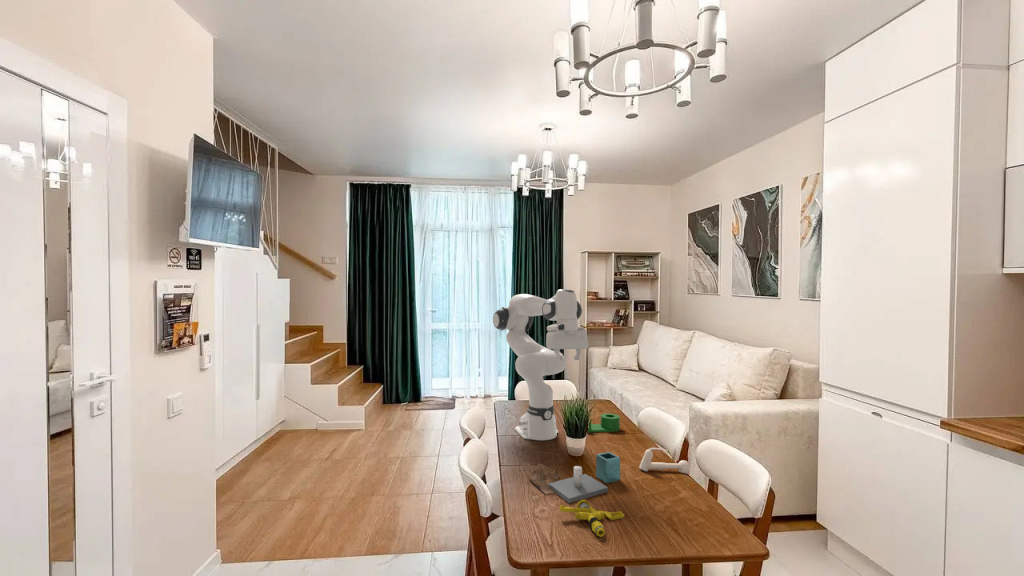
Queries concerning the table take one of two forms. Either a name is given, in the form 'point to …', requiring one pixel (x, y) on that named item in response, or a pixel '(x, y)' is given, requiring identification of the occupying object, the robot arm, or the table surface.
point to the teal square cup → (608, 467)
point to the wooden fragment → (544, 478)
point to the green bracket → (606, 424)
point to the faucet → (647, 463)
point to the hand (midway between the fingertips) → (568, 360)
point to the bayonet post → (577, 487)
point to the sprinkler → (592, 515)
